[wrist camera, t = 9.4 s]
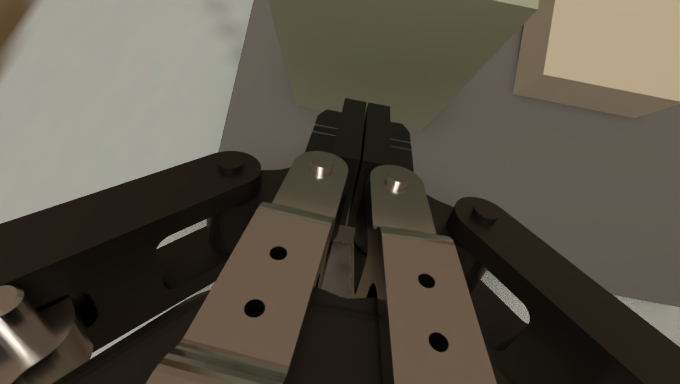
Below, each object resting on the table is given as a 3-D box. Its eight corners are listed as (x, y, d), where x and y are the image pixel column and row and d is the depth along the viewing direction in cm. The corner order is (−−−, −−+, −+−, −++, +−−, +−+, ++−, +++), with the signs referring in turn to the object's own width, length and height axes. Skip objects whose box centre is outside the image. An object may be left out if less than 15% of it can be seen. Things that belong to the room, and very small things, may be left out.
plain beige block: (629, 119, 17) (654, -55, 17) (685, 102, 14) (713, -102, 15) (509, 95, 17) (538, -78, 17) (543, 74, 14) (576, -130, 15)
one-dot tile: (430, 77, 16) (552, -103, 8) (421, 130, 16) (538, 9, 7) (306, 52, 16) (281, -159, 7) (295, 106, 16) (255, -48, 7)
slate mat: (693, -6, 18) (705, -14, 17) (668, 304, 16) (681, 307, 16) (279, -90, 18) (277, -101, 17) (208, 217, 16) (203, 216, 15)
